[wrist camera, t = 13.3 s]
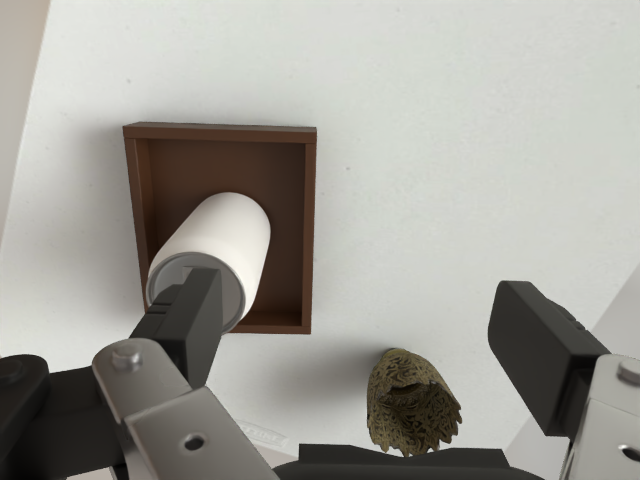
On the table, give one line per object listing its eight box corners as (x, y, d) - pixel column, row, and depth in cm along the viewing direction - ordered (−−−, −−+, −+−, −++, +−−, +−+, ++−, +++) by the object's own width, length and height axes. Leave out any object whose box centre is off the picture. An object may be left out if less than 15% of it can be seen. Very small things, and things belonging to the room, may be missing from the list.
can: (192, 262, 37) (140, 343, 26) (191, 187, 35) (133, 240, 24) (269, 267, 37) (251, 350, 26) (273, 193, 35) (254, 249, 24)
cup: (344, 377, 42) (351, 442, 35) (380, 316, 40) (395, 371, 33) (411, 403, 44) (432, 471, 36) (450, 345, 41) (480, 405, 34)
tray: (139, 121, 34) (122, 126, 31) (316, 127, 34) (316, 132, 31) (159, 311, 40) (146, 331, 36) (310, 314, 40) (310, 334, 37)
